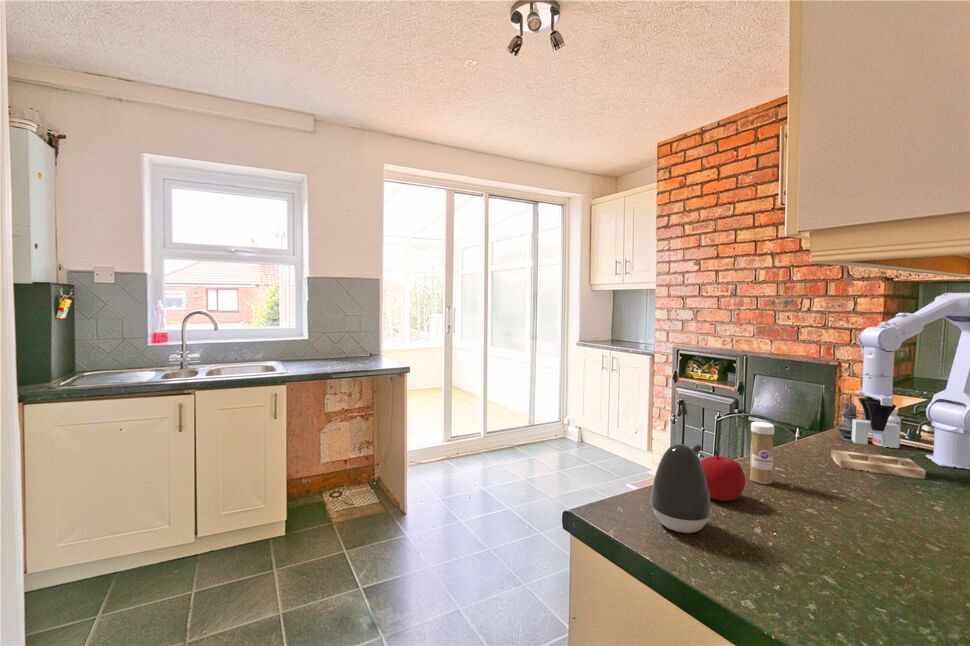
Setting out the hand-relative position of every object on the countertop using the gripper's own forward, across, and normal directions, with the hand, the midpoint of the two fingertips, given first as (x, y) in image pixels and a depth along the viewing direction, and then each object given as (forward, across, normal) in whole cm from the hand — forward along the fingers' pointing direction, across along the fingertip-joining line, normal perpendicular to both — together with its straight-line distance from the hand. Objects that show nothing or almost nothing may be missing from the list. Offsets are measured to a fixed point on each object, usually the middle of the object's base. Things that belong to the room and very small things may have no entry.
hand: (875, 428), depth 113 cm
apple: (+10, +38, -36) cm, 53 cm away
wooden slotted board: (+10, +1, 0) cm, 10 cm away
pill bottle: (+10, -23, +9) cm, 27 cm away
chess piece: (+10, -25, +1) cm, 27 cm away
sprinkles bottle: (+10, +24, -27) cm, 37 cm away
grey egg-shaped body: (+10, +55, -43) cm, 70 cm away
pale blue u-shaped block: (+4, 0, 0) cm, 4 cm away
